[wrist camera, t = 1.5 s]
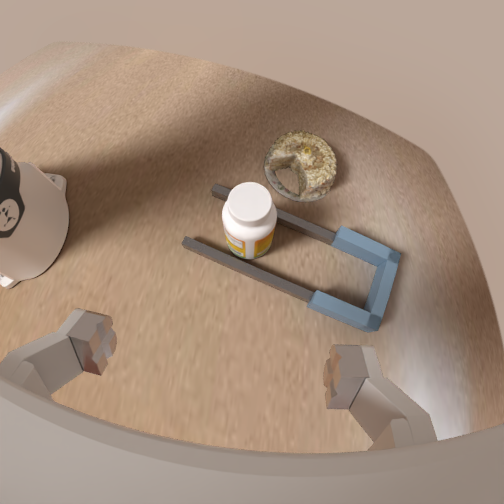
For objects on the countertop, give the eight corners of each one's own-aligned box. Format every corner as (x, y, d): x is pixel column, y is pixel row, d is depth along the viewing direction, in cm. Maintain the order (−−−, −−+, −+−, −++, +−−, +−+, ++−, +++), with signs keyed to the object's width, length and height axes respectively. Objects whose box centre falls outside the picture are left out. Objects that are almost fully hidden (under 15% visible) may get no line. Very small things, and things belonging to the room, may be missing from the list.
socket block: (306, 306, 34) (312, 303, 31) (334, 234, 36) (341, 225, 34) (367, 332, 33) (377, 330, 30) (390, 260, 36) (401, 253, 33)
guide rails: (184, 247, 36) (181, 243, 34) (216, 189, 38) (215, 183, 37) (308, 302, 34) (311, 300, 32) (333, 238, 36) (336, 234, 35)
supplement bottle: (271, 217, 37) (278, 174, 28) (272, 260, 35) (281, 228, 26) (226, 217, 37) (220, 174, 28) (225, 260, 35) (218, 228, 26)
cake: (288, 133, 42) (295, 107, 37) (347, 169, 41) (360, 145, 36) (248, 174, 39) (251, 148, 34) (313, 217, 37) (325, 195, 32)
